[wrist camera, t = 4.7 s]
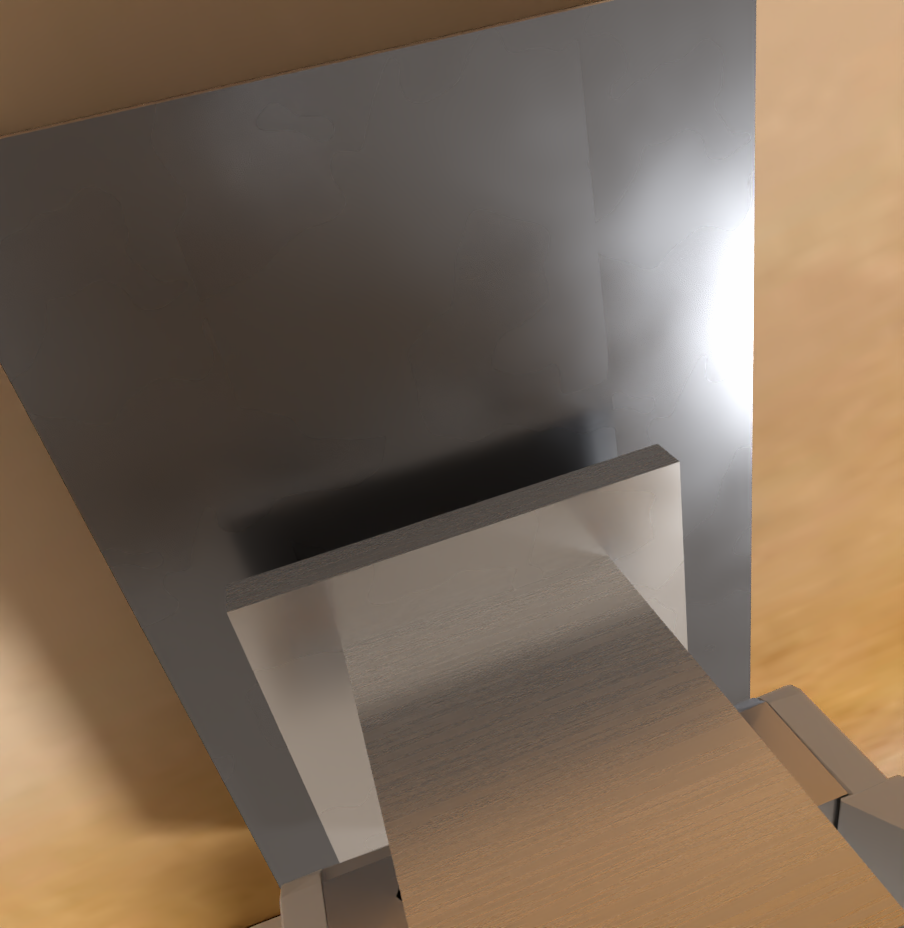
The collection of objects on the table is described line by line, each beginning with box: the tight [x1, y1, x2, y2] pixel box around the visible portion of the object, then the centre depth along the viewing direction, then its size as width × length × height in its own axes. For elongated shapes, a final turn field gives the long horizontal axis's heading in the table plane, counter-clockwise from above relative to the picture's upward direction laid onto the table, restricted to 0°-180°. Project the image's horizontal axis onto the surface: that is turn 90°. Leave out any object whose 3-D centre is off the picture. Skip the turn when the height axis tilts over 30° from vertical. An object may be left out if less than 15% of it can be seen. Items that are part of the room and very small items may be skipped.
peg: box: [226, 444, 904, 928], centre depth 11 cm, size 6×6×10 cm
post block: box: [0, 0, 756, 889], centre depth 14 cm, size 10×16×4 cm, turn 11°
